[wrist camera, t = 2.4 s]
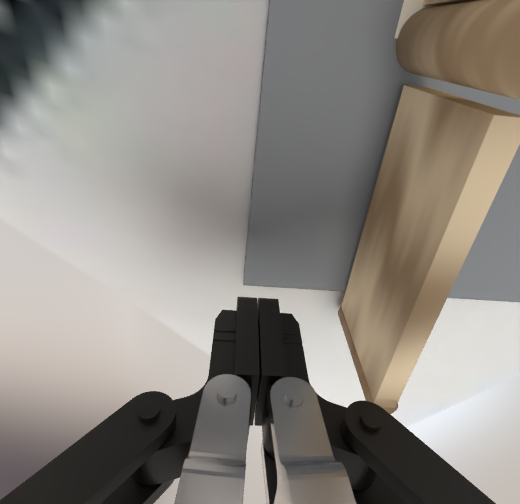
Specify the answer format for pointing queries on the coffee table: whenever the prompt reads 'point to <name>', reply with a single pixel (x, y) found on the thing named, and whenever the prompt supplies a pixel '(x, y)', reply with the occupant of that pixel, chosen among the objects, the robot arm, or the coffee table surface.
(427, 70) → the wooden toy fence
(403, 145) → the fence panel
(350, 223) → the card
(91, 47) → the coffee table surface
